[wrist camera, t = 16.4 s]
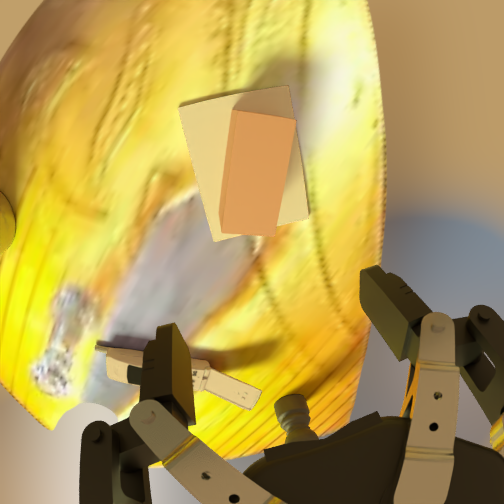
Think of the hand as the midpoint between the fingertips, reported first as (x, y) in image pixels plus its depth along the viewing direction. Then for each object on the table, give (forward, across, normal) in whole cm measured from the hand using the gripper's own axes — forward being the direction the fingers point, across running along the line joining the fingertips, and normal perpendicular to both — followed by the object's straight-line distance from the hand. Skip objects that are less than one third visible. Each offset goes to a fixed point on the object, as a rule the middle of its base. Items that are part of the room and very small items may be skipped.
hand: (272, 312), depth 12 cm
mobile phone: (+22, +14, +26) cm, 37 cm away
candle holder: (+21, -2, +44) cm, 49 cm away
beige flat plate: (+21, -3, -1) cm, 21 cm away
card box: (+21, -3, -1) cm, 21 cm away
